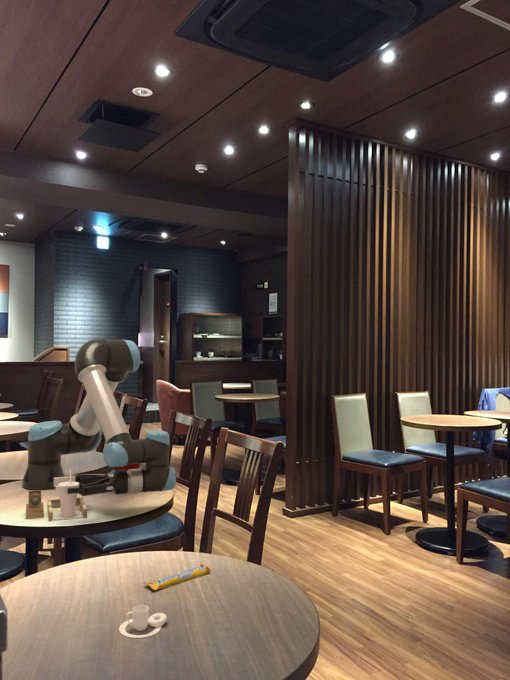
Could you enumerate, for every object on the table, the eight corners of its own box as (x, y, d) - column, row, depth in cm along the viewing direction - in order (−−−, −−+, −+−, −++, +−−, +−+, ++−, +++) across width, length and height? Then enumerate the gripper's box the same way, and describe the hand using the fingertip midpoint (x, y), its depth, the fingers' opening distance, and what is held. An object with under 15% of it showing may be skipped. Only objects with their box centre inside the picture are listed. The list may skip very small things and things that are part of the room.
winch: (25, 513, 181) (26, 490, 181) (42, 511, 182) (43, 489, 182) (25, 519, 175) (26, 495, 175) (43, 517, 176) (44, 494, 176)
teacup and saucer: (168, 620, 114) (168, 599, 114) (163, 640, 106) (163, 618, 106) (123, 619, 113) (124, 598, 114) (114, 640, 106) (115, 618, 106)
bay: (47, 507, 187) (47, 499, 187) (82, 504, 191) (82, 497, 191) (49, 521, 173) (49, 512, 173) (87, 517, 177) (87, 509, 177)
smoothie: (71, 518, 174) (73, 472, 175) (52, 517, 176) (54, 470, 176) (82, 513, 181) (83, 468, 181) (63, 511, 182) (65, 467, 183)
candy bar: (202, 569, 140) (202, 561, 140) (213, 574, 137) (213, 566, 137) (142, 588, 128) (142, 580, 128) (152, 595, 125) (153, 586, 125)
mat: (52, 514, 179) (52, 513, 179) (80, 512, 182) (80, 511, 182) (53, 520, 174) (53, 519, 174) (82, 517, 177) (82, 516, 177)
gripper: (133, 502, 174) (56, 509, 166) (121, 484, 196) (52, 489, 188) (133, 477, 174) (56, 483, 166) (121, 462, 196) (53, 466, 188)
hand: (54, 486), depth 177 cm, fingers open, 11 cm apart
